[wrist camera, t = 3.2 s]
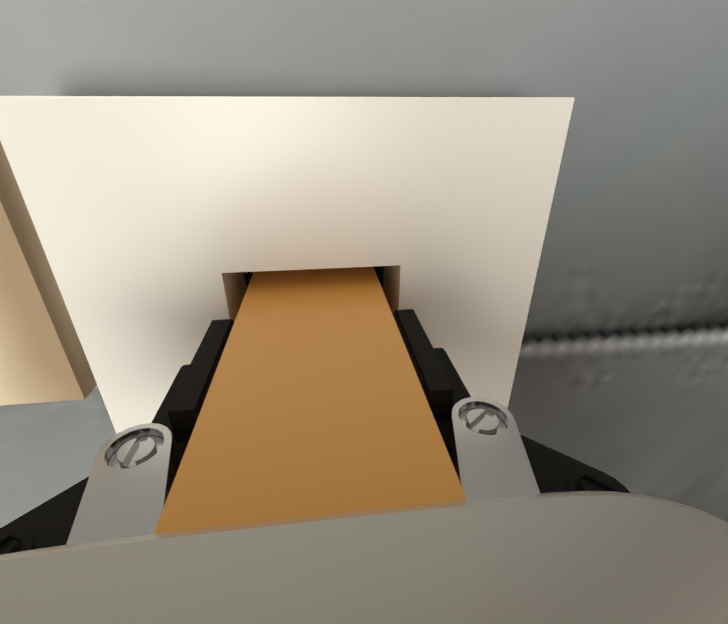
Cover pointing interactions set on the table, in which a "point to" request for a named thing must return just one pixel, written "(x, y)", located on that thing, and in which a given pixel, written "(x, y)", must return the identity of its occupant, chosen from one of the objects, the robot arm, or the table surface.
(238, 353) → the plug
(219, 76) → the table surface
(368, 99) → the white square holed plate
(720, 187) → the table surface
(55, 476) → the table surface
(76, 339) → the pad
